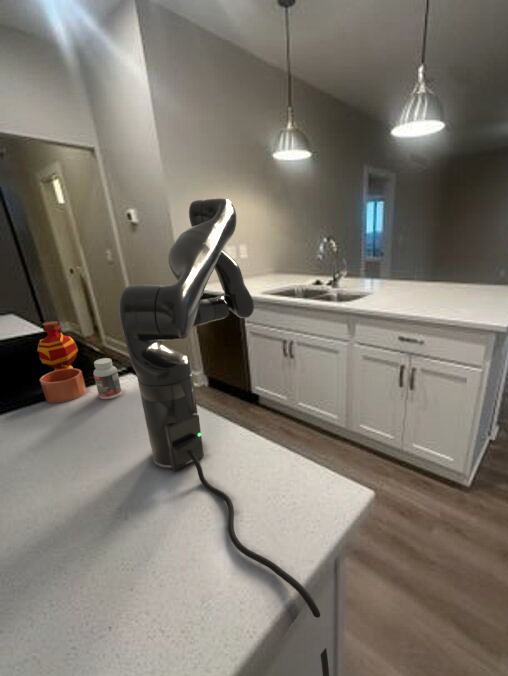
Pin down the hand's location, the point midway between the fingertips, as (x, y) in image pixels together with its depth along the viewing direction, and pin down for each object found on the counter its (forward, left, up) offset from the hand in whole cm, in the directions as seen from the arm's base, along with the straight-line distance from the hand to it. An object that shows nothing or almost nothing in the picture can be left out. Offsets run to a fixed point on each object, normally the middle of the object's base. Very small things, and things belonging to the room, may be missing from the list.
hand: (141, 324), depth 92 cm
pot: (+9, +19, -17) cm, 27 cm away
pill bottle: (0, +11, -17) cm, 20 cm away
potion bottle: (+28, +15, -17) cm, 36 cm away
